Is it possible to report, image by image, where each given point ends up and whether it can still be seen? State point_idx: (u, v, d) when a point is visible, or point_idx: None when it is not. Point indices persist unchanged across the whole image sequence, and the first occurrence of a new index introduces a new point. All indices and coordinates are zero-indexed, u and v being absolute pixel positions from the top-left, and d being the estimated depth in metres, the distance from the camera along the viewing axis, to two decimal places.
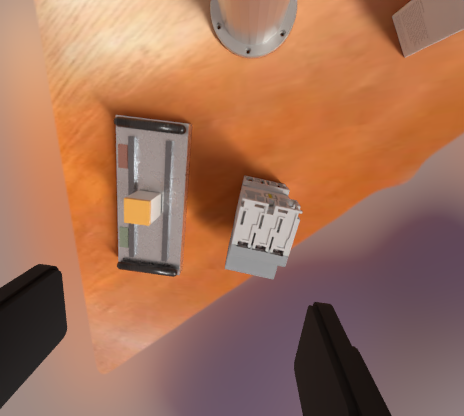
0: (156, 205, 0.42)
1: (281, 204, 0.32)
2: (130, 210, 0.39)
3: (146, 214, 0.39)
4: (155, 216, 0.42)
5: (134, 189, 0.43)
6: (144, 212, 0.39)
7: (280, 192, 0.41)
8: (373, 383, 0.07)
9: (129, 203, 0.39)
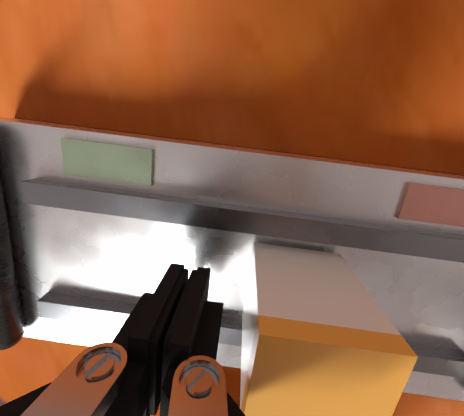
0: None
1: None
2: (334, 377, 0.07)
3: None
4: None
5: None
6: None
7: None
8: (218, 326, 0.08)
9: (379, 379, 0.07)
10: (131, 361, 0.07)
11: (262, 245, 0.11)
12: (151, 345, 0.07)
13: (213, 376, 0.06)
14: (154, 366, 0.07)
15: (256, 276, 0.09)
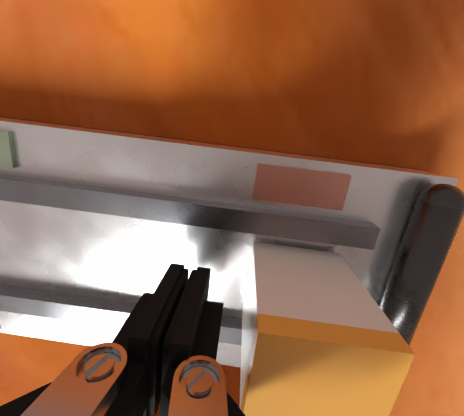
0: None
1: None
2: (332, 374, 0.07)
3: None
4: None
5: None
6: None
7: None
8: (218, 326, 0.08)
9: (376, 376, 0.07)
10: (131, 361, 0.07)
11: (262, 244, 0.11)
12: (151, 345, 0.07)
13: (213, 376, 0.06)
14: (154, 366, 0.07)
15: (255, 275, 0.09)
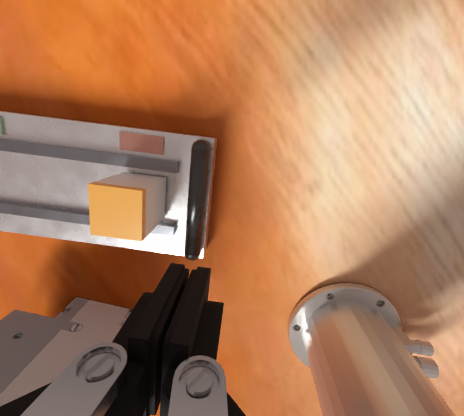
0: None
1: None
2: (117, 201, 0.18)
3: (114, 232, 0.19)
4: None
5: None
6: (117, 229, 0.19)
7: None
8: (218, 326, 0.08)
9: (132, 201, 0.18)
10: (131, 361, 0.07)
11: (127, 172, 0.23)
12: (151, 345, 0.07)
13: (213, 376, 0.06)
14: (154, 366, 0.07)
15: (108, 177, 0.21)
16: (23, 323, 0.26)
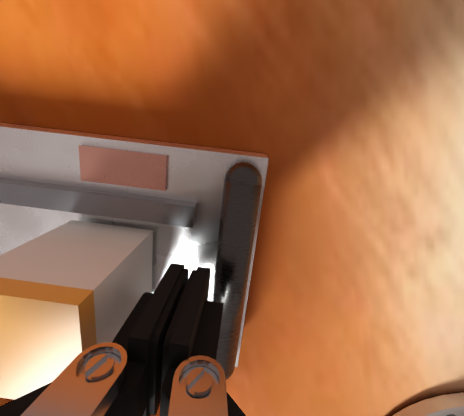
0: None
1: None
2: (18, 327, 0.07)
3: (20, 391, 0.08)
4: None
5: None
6: (27, 385, 0.08)
7: None
8: (218, 326, 0.08)
9: (55, 328, 0.07)
10: (131, 361, 0.07)
11: (77, 222, 0.12)
12: (151, 345, 0.07)
13: (213, 376, 0.06)
14: (154, 366, 0.07)
15: (22, 245, 0.10)
16: None
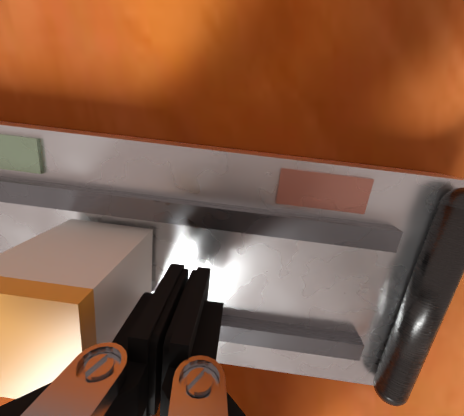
0: None
1: None
2: (17, 325, 0.07)
3: (19, 390, 0.08)
4: None
5: None
6: (27, 383, 0.08)
7: None
8: (218, 326, 0.08)
9: (55, 327, 0.07)
10: (131, 361, 0.07)
11: (76, 221, 0.12)
12: (151, 345, 0.07)
13: (213, 376, 0.06)
14: (154, 366, 0.07)
15: (21, 243, 0.09)
16: None
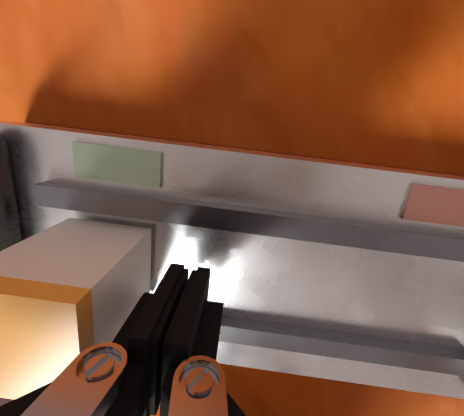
0: None
1: None
2: (14, 326, 0.07)
3: (16, 390, 0.08)
4: None
5: None
6: (24, 384, 0.08)
7: None
8: (218, 326, 0.08)
9: (52, 327, 0.07)
10: (131, 361, 0.07)
11: (74, 220, 0.12)
12: (151, 345, 0.07)
13: (213, 376, 0.06)
14: (154, 366, 0.07)
15: (19, 242, 0.09)
16: None
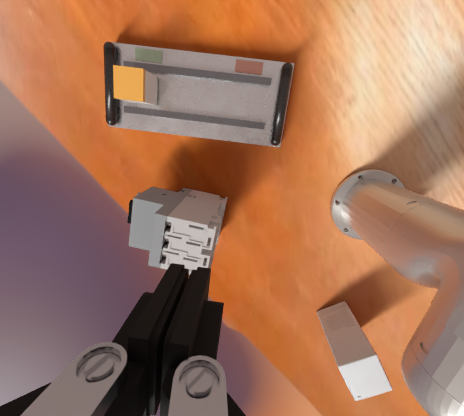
0: (141, 102, 0.37)
1: None
2: (129, 75, 0.33)
3: (127, 96, 0.34)
4: None
5: (210, 78, 0.37)
6: (129, 94, 0.34)
7: None
8: (218, 326, 0.08)
9: (137, 75, 0.33)
10: (131, 361, 0.07)
11: None
12: (151, 345, 0.07)
13: (213, 376, 0.06)
14: (154, 366, 0.07)
15: None
16: (162, 191, 0.41)
